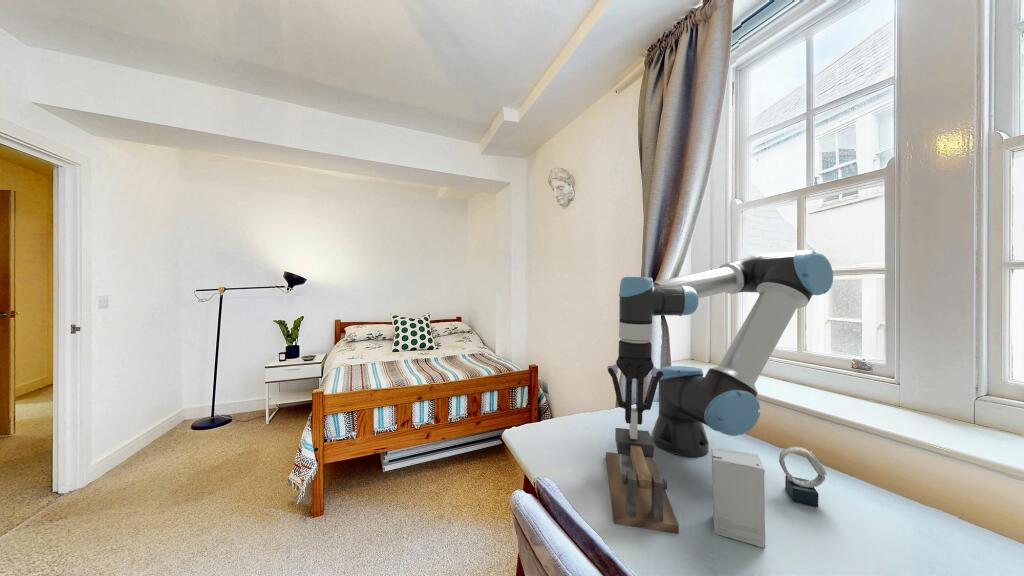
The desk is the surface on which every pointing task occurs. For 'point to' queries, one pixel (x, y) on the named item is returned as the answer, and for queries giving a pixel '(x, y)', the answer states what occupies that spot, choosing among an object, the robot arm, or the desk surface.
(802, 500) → the watch
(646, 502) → the press base
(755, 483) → the skincare box
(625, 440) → the lever
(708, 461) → the desk surface
